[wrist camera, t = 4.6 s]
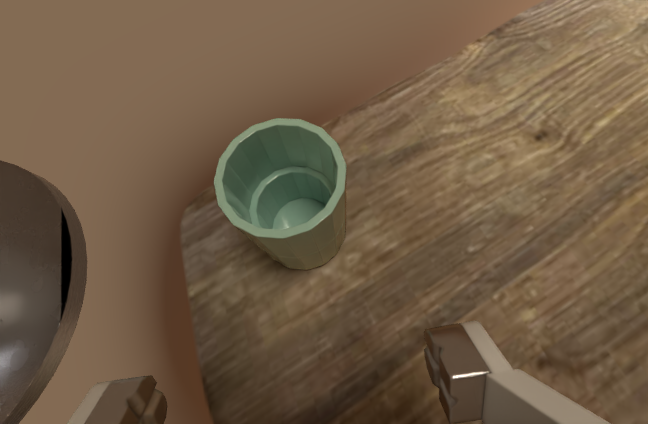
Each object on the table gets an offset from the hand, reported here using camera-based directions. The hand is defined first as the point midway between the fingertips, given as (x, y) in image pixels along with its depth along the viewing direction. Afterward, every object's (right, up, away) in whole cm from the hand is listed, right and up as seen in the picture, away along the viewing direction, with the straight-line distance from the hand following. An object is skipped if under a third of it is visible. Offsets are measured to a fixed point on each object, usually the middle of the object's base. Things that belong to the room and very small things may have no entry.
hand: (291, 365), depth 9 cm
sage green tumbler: (0, +3, +13) cm, 14 cm away
